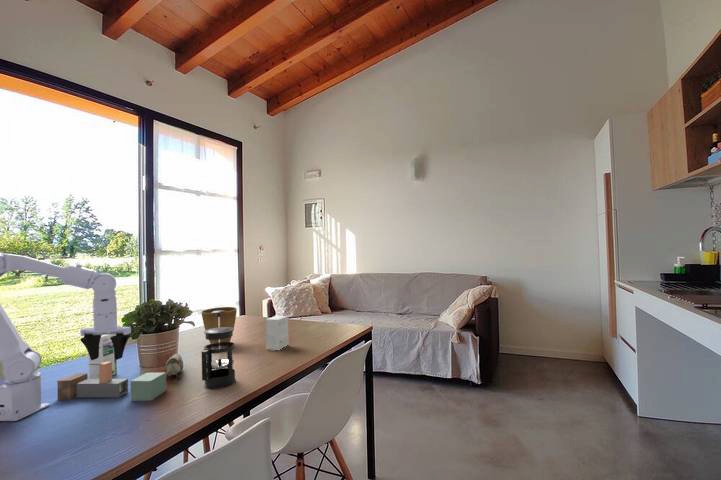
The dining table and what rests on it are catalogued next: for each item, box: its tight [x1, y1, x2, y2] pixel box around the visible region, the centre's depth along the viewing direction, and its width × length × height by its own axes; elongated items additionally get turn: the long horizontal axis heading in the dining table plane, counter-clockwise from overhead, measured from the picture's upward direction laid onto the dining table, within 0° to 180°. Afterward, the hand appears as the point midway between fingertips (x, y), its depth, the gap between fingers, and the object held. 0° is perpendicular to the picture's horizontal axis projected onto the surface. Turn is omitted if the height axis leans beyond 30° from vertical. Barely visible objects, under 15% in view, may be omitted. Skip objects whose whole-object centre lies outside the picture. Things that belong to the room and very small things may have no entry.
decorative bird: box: [164, 353, 184, 383], centre depth 124 cm, size 5×16×8 cm, turn 22°
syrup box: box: [87, 334, 118, 379], centre depth 124 cm, size 6×6×14 cm
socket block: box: [130, 371, 167, 401], centre depth 106 cm, size 6×7×6 cm
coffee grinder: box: [201, 310, 237, 390], centre depth 114 cm, size 12×9×23 cm
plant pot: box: [200, 306, 238, 348], centre depth 161 cm, size 15×15×16 cm
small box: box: [264, 315, 290, 351], centre depth 154 cm, size 8×6×13 cm
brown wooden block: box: [56, 372, 89, 401], centre depth 108 cm, size 4×6×6 cm, turn 176°
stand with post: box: [76, 362, 129, 399], centre depth 107 cm, size 13×4×9 cm, turn 86°
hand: (106, 358), depth 107 cm, fingers open, 7 cm apart
